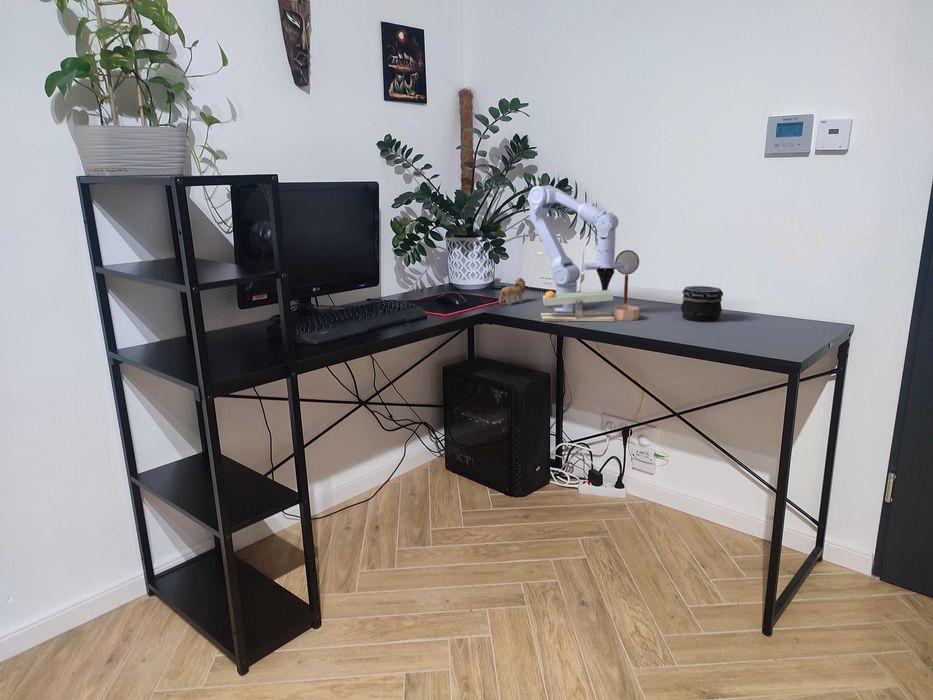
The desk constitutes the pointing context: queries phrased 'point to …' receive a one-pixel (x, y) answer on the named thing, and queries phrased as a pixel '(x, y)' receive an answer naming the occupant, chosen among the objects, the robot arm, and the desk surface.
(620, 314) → the octagonal wooden bowl
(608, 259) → the robot arm
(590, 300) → the trough
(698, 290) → the container
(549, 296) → the ball
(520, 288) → the lion figurine
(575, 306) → the stand
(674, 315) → the desk surface
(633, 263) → the magnifying glass
